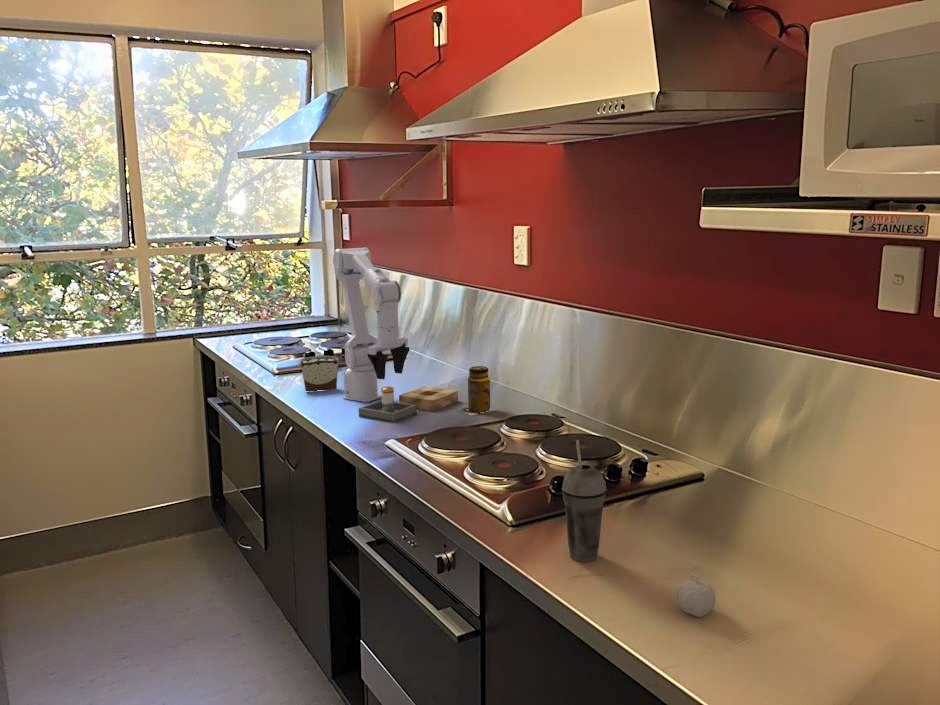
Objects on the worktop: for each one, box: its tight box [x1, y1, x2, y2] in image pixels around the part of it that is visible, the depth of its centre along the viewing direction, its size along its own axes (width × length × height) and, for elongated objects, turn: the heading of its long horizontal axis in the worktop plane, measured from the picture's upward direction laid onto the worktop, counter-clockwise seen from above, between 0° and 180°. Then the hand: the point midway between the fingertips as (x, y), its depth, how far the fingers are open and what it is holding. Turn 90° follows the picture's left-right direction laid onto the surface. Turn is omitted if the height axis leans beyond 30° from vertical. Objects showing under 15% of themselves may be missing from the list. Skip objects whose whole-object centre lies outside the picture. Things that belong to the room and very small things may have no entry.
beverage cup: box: [561, 439, 608, 563], centre depth 130 cm, size 7×7×20 cm
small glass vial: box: [380, 386, 395, 413], centre depth 218 cm, size 3×3×7 cm
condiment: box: [456, 365, 491, 417], centre depth 220 cm, size 7×8×12 cm
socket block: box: [398, 385, 459, 412], centre depth 229 cm, size 12×12×3 cm
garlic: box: [675, 572, 717, 618], centre depth 114 cm, size 6×5×5 cm
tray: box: [358, 399, 418, 423], centre depth 218 cm, size 12×10×2 cm
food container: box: [298, 355, 341, 392], centre depth 248 cm, size 12×6×10 cm, turn 108°
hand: (389, 375), depth 219 cm, fingers open, 7 cm apart
